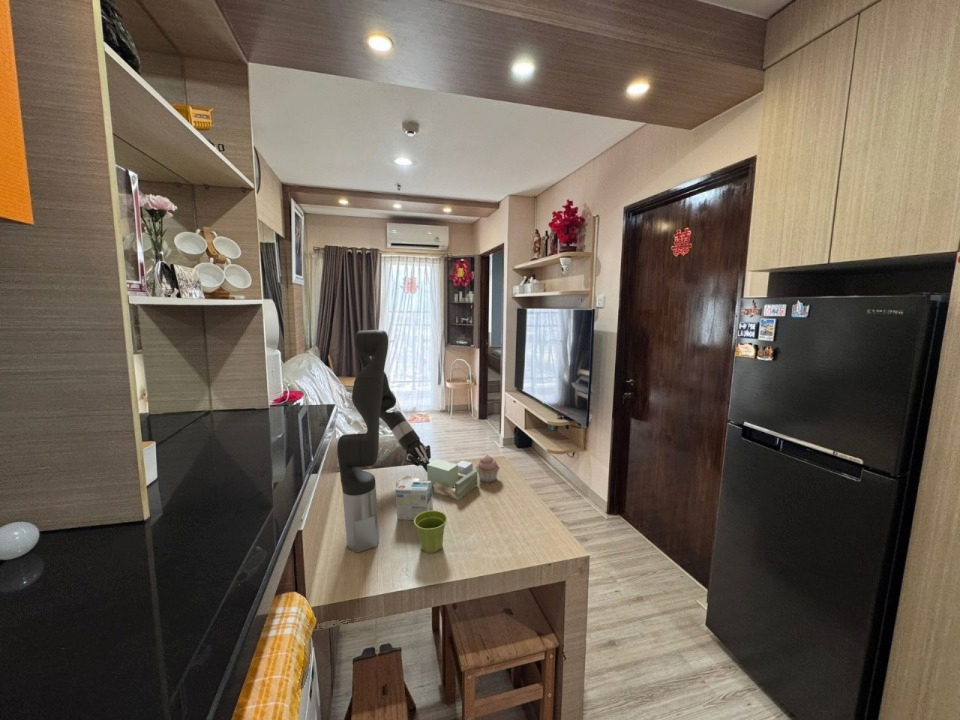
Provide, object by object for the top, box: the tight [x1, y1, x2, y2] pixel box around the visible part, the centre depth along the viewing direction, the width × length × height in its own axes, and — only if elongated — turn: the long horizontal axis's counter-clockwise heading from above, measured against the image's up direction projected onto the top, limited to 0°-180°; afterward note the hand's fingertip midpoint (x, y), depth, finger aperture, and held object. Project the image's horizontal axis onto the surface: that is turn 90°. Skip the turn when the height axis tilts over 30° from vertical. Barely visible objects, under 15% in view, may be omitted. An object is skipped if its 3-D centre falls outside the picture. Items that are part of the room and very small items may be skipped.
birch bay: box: [433, 469, 478, 501], centre depth 147 cm, size 11×12×6 cm
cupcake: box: [475, 454, 501, 483], centre depth 154 cm, size 9×9×10 cm
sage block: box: [426, 458, 458, 488], centre depth 150 cm, size 10×6×8 cm, turn 58°
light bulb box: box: [394, 479, 434, 521], centre depth 130 cm, size 11×7×11 cm, turn 84°
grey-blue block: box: [456, 460, 474, 475], centre depth 157 cm, size 5×5×5 cm
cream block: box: [395, 475, 421, 489], centre depth 143 cm, size 6×6×6 cm
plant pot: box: [413, 510, 448, 554], centre depth 114 cm, size 9×9×9 cm
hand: (431, 471), depth 153 cm, fingers closed
